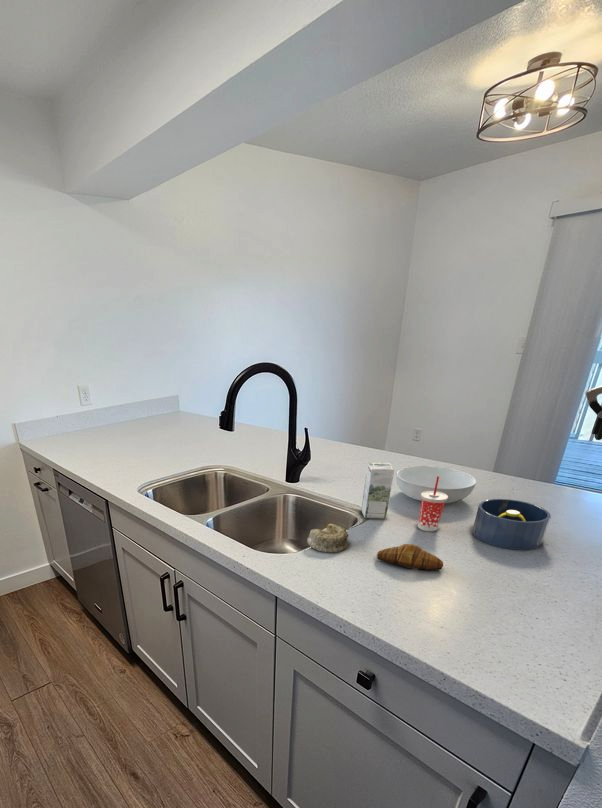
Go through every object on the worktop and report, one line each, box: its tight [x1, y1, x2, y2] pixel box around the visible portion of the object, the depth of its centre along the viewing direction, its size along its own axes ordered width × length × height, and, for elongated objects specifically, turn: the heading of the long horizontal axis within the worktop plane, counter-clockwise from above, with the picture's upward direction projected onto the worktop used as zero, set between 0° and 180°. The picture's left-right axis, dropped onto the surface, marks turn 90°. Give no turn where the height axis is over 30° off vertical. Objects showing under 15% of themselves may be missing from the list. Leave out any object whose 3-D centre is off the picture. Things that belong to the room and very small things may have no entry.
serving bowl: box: [395, 465, 477, 504], centre depth 129 cm, size 21×21×7 cm
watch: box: [498, 510, 526, 521], centre depth 105 cm, size 6×3×6 cm, turn 56°
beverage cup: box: [417, 476, 448, 532], centre depth 110 cm, size 6×6×14 cm
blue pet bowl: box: [471, 498, 552, 551], centre depth 105 cm, size 14×14×7 cm
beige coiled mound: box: [306, 523, 349, 553], centre depth 107 cm, size 10×10×5 cm
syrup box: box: [360, 462, 395, 520], centre depth 118 cm, size 6×6×14 cm
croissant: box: [376, 543, 444, 571], centre depth 96 cm, size 14×7×5 cm, turn 64°
